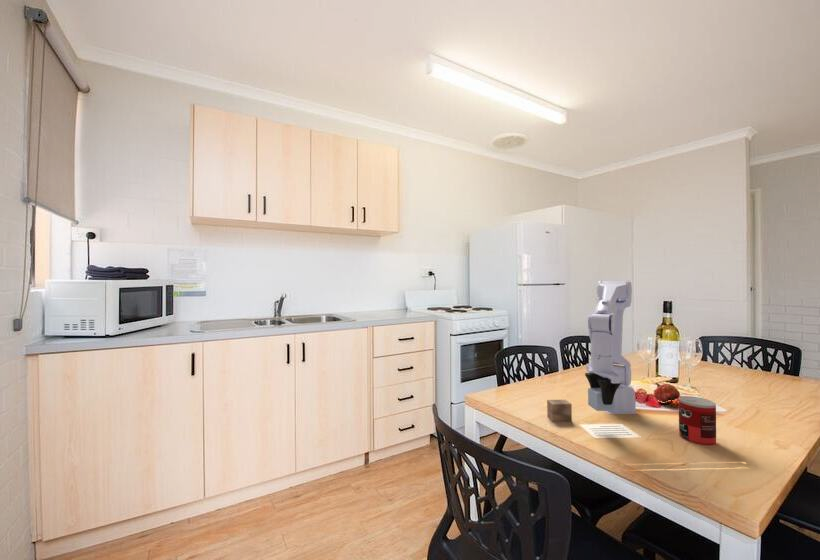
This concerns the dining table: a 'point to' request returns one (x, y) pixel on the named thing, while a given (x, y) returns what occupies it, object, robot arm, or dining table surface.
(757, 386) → the dining table surface
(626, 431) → the letter
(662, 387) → the pomegranate
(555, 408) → the walnut block
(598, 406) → the cube
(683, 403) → the canned food
